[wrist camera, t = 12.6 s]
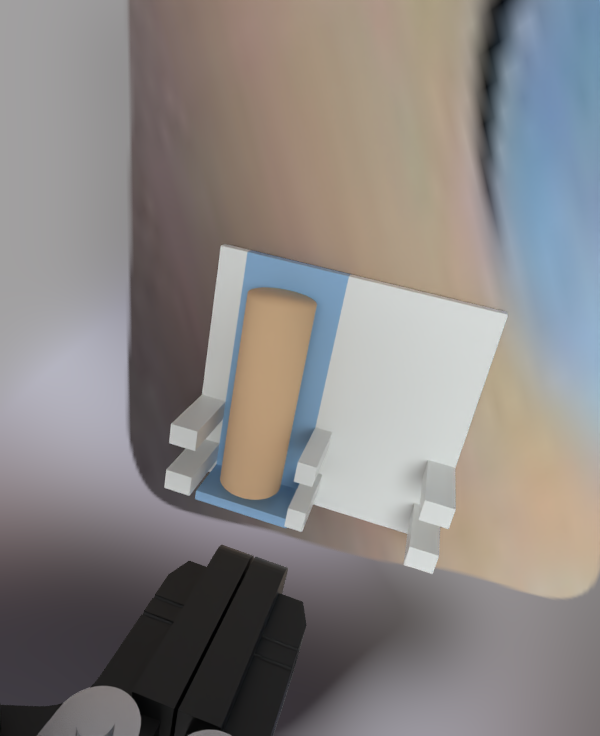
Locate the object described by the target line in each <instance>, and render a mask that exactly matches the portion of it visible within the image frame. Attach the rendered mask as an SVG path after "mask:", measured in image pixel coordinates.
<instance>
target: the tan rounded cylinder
mask: <svg viewBox="0 0 600 736" xmlns="http://www.w3.org/2000/svg"><path fill="white" fill-rule="evenodd" d="M316 307H317V303H316V302H315V301H314V300H313V299H311V298H310V297H308V296H306V295H303V294H301V293H297V292H294V291H290V290H285V289H279V288H269V287H261V288H254V289H251V290H249V291H248V294H247V300H246V307H245V314H244V321H243V327H242V334H241V341H240V347H239V354H238V361H237V368H236V374H235V381H234V388H233V394H232V401H231V408H230V415H229V421H228V428H227V435H226V441H225V448H224V455H223V462H222V468H221V475H220V481H221V484H222V486H223V487H224V488H225V489H226V490H227V491H228V492H230V493H231V494H233V495H235V496H238V497H241V498H244V499H251V500H260V499H266V498H269V497H271V496H273V495H275V494H276V493H277V492H278V491H279V489H280V486H281V481H282V476H283V471H284V466H285V461H286V456H287V451H288V446H289V441H290V436H291V431H292V426H293V421H294V416H295V411H296V406H297V401H298V396H299V391H300V386H301V381H302V376H303V372H304V367H305V362H306V357H307V352H308V347H309V342H310V337H311V332H312V327H313V322H314V317H315V312H316Z"/></svg>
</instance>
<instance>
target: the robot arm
mask: <svg viewBox="0 0 600 736" xmlns="http://www.w3.org/2000/svg"><path fill="white" fill-rule="evenodd" d="M287 571H288V568H286V567H284V566H281V565H278V564H275V563H272V562H269V561H267V560H264V559H261V558H258V557H255V558H254V557H253V556H252V555H249V554H246V553H244V552H241V551H238V550H235V549H232V548H229V547H227V546H224V545H221V546H220V547H219V548H218V549H217V551H216V553H215V554H214V556H213V557H212V559H211V561H210V563H209V564H208V566H207V567H205V566H202V565H200V564H197V563H194V562H191V561H188V562H187V563H185V564H184V565H182V566H181V567H179V568H178V569H176V570H175V571H173V572H172V573H170V574H169V575H168V576H167V578H166V579H165V581H164V582H163V584H162V585H161V587H160V588H159V590H158V591H157V592H156V594H155V597H154V598H152V600H151V601H150V603H149V604H148V606H147V607H146V609H145V610H144V613H143V615H141V616H140V618H139V619H138V621H137V622H136V624H135V625H134V627H133V628H132V629H131V631H130V633H129V634H128V635H127V637H126V638H125V640H124V641H123V643H122V644H121V646H120V647H119V649H118V650H117V652H116V653H115V655H114V656H113V658H112V659H111V661H110V662H109V664H108V665H107V667H106V668H105V669H104V671H103V672H102V674H101V675H100V677H99V678H98V679H97V681H96V682H95V683H94V684H93V685H92V686H91V687H90V688H87V689H84V690H82V691H80V692H78V693H76V694H75V695H73V696H71V697H70V698H69V699H68V700H66V701H65V702H64V703H61V704H58V705H52V706H40V707H39V706H14V705H0V736H273V735H274V731H275V728H276V725H277V721H278V719H279V716H280V712H281V709H282V706H283V703H284V700H285V697H286V693H287V690H288V687H289V684H290V681H291V678H292V674H293V671H294V667H295V664H296V660H297V656H298V653H299V649H300V646H301V642H302V639H303V635H304V632H305V628H306V620H305V613H304V606H303V602H302V601H299V600H296V599H293V598H291V597H288V596H285V595H283V594H282V592H283V588H284V584H285V580H286V575H287Z"/></svg>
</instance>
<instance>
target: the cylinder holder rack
mask: <svg viewBox="0 0 600 736" xmlns="http://www.w3.org/2000/svg"><path fill="white" fill-rule="evenodd" d="M261 287H269V288H279V289H285V290H290V291H294V292H297V293H301V294H303V295H306V296H308V297H310V298H311V299H313V300H314V301H315V302H316V303H317V307H316V312H315V317H314V322H313V327H312V332H311V337H310V342H309V347H308V352H307V357H306V362H305V367H304V372H303V376H302V381H301V386H300V391H299V396H298V401H297V406H296V411H295V416H294V421H293V426H292V431H291V436H290V441H289V446H288V451H287V456H286V461H285V466H284V471H283V476H282V481H281V486H280V489H279V491H278V492H277V493H276V494H275V495H273V496H271V497H269V498H266V499H260V500H251V499H244V498H241V497H238V496H235V495H233V494H231V493H230V492H228V491H227V490H226V489H225V488H224V487H223V486H222V484H221V481H220V475H221V468H222V462H223V455H224V448H225V441H226V435H227V428H228V421H229V415H230V408H231V401H232V394H233V388H234V381H235V374H236V368H237V361H238V354H239V347H240V341H241V334H242V327H243V321H244V314H245V307H246V300H247V294H248V291H249V290H251V289H254V288H261ZM507 317H508V313H507V312H506V311H502V310H498V309H493V308H489V307H485V306H481V305H477V304H473V303H468V302H464V301H460V300H456V299H452V298H448V297H444V296H439V295H435V294H431V293H427V292H423V291H419V290H415V289H410V288H406V287H402V286H398V285H394V284H390V283H385V282H381V281H377V280H373V279H369V278H365V277H361V276H356V275H352V274H348V273H344V272H340V271H336V270H332V269H327V268H323V267H319V266H315V265H311V264H307V263H302V262H298V261H294V260H290V259H286V258H282V257H278V256H273V255H269V254H265V253H261V252H257V251H253V250H249V249H244V248H240V247H236V246H232V245H228V244H223V245H221V249H220V257H219V265H218V272H217V280H216V288H215V296H214V304H213V312H212V320H211V327H210V335H209V343H208V351H207V359H206V367H205V375H204V382H203V390H202V395H201V396H200V397H199V398H198V399H197V400H196V401H195V402H194V403H192V404H191V405H190V406H189V407H188V408H187V409H186V410H185V411H184V412H183V413H182V414H181V415H180V416H179V417H178V418H177V419H176V420H175V421H174V422H172V423H171V430H170V439H169V443H170V444H173V445H177V446H180V447H183V448H186V449H185V450H184V451H183V452H182V453H181V454H180V455H179V456H178V457H177V459H176V460H175V461H174V462H173V463H172V464H171V465H170V466H169V467H168V468H167V469H166V477H165V487H164V488H167V489H170V490H173V491H176V492H179V493H182V494H185V495H188V496H190V494H191V493H192V492H193V490H194V489H195V488H196V487H197V485H198V484H199V483H200V481H201V480H202V479H203V478H204V476H205V475H206V474H207V472H210V473H209V475H208V476H207V477H206V478H205V480H204V481H203V482H202V484H201V485H200V486H199V488H198V489H197V490H196V496H195V499H197V500H200V501H203V502H206V503H209V504H212V505H215V506H218V507H221V508H225V509H228V510H231V511H234V512H237V513H240V514H243V515H246V516H249V517H252V518H256V519H259V520H262V521H265V522H268V523H271V524H274V525H277V526H280V527H283V528H287V527H288V528H291V529H294V530H297V531H300V532H302V531H303V528H304V526H305V523H306V521H307V518H308V516H309V513H310V511H311V508H312V506H313V504H314V505H317V506H320V507H323V508H327V509H330V510H333V511H336V512H339V513H343V514H346V515H349V516H352V517H355V518H359V519H362V520H365V521H368V522H371V523H375V524H378V525H381V526H384V527H387V528H391V529H394V530H397V531H400V532H403V533H407V541H406V550H405V558H404V565H406V566H409V567H412V568H415V569H419V570H421V571H424V572H428V573H431V574H433V571H434V568H435V566H436V563H437V560H438V557H439V542H440V527H443V528H446V529H449V527H450V524H451V521H452V518H453V515H454V513H455V510H456V491H455V467H456V464H457V462H458V459H459V456H460V453H461V450H462V447H463V444H464V441H465V438H466V435H467V433H468V430H469V427H470V424H471V421H472V418H473V415H474V412H475V409H476V407H477V404H478V401H479V398H480V395H481V392H482V389H483V386H484V383H485V380H486V378H487V375H488V372H489V369H490V366H491V363H492V360H493V357H494V354H495V352H496V349H497V346H498V343H499V340H500V337H501V334H502V331H503V328H504V325H505V323H506V320H507Z"/></svg>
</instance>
